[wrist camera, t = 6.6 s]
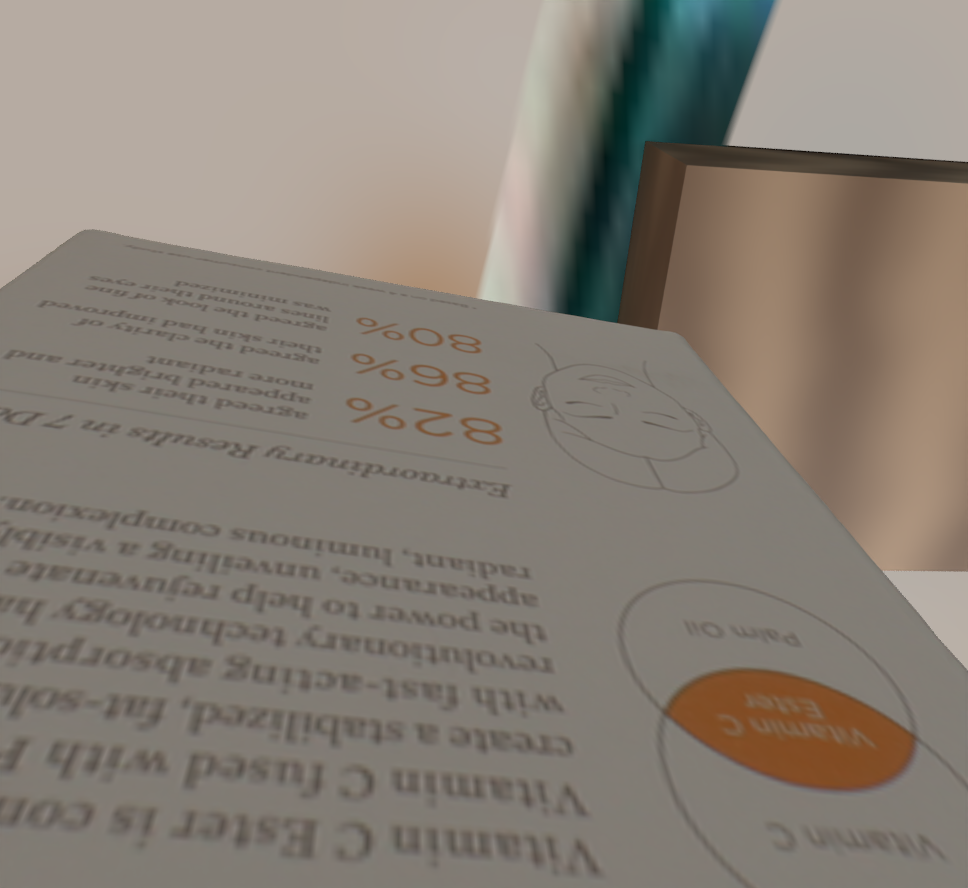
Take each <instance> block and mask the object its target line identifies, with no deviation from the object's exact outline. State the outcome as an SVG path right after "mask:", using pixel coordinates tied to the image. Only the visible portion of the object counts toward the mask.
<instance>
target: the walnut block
mask: <svg viewBox="0 0 968 888" xmlns="http://www.w3.org/2000/svg"><path fill="white" fill-rule="evenodd" d="M617 323H619V324H625V325H631V326H636V327H642V328H648V329H654V330H661V331H670V332H674V333H677V334H679V335H681V336H682V337H684V338H685V339H686V341H687V342H688V344H689V345H690V346H691V347H692V349H693V350H694V351H695V352H696V353H697V354H698V356H699V357H700V358H701V359H702V360H703V361H704V363H705V364H706V365H707V366H708V367H709V369H710V370H711V371H712V372H713V373H714V375H715V376H716V377H717V378H718V379H719V380H720V382H721V383H722V384H723V385H724V386H725V388H726V389H727V390H728V391H729V392H730V394H731V395H732V396H733V397H734V398H735V400H736V401H737V402H738V403H739V404H740V405H741V406H742V407H743V408H744V410H745V411H746V412H747V413H748V414H749V415H750V417H751V418H752V419H753V420H754V421H755V422H756V424H757V425H758V426H759V427H760V428H761V430H762V431H763V432H764V433H765V434H766V435H767V437H768V438H769V439H770V440H771V441H772V443H773V444H774V445H775V446H776V448H777V449H778V450H779V451H780V452H781V454H782V455H783V456H784V457H785V459H786V460H787V461H788V462H789V463H790V464H791V465H792V466H793V468H794V469H795V470H796V471H797V472H798V473H799V474H800V475H801V476H802V478H803V479H804V480H805V481H806V482H807V483H808V485H809V486H810V487H811V488H812V489H813V490H814V491H815V493H816V494H817V495H818V496H819V497H820V498H821V499H822V501H823V502H824V503H825V504H826V505H827V506H828V508H829V509H830V510H831V512H832V513H833V514H834V515H835V517H836V518H837V519H838V520H839V521H840V522H841V523H842V524H843V525H844V526H845V528H846V529H847V530H848V531H849V532H850V534H851V535H852V536H853V537H854V538H855V540H856V541H857V542H858V543H859V545H860V546H861V547H862V548H863V549H864V551H865V552H866V553H867V554H868V555H869V557H870V558H871V559H872V560H873V561H874V562H875V563H876V565H877V566H878V567H879V568H880V569H881V570H882V571H968V162H961V161H946V160H932V159H918V158H903V157H888V156H874V155H859V154H845V153H831V152H814V151H801V150H787V149H772V148H756V147H743V146H729V145H727V147H723V146H708V145H693V144H679V143H664V142H650V141H645V147H644V154H643V160H642V167H641V173H640V180H639V186H638V193H637V199H636V205H635V212H634V218H633V225H632V231H631V238H630V244H629V251H628V257H627V264H626V270H625V276H624V283H623V289H622V296H621V302H620V309H619V315H618V322H617Z"/></svg>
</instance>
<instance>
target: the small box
mask: <svg viewBox="0 0 968 888" xmlns="http://www.w3.org/2000/svg"><path fill="white" fill-rule="evenodd" d="M0 888H968V670H967V669H966V668H965V667H964V666H963V665H962V663H961V662H960V661H959V660H958V659H957V658H956V657H955V656H954V655H953V654H952V653H951V652H950V650H949V649H948V648H947V647H946V646H945V645H944V644H943V643H942V642H941V640H940V639H938V637H937V636H936V635H935V634H934V632H933V631H932V630H931V628H930V627H929V626H928V624H927V623H926V622H925V621H924V620H923V618H922V617H921V616H920V614H919V613H918V612H917V611H916V610H915V609H914V608H913V606H912V605H911V604H910V603H909V602H908V600H907V599H906V598H905V597H904V596H903V595H902V594H901V593H900V591H899V590H898V589H897V588H896V587H895V586H894V585H893V583H892V582H891V581H890V580H889V579H888V577H887V576H886V575H885V574H884V573H883V572H882V570H881V569H880V568H879V567H878V566H877V565H876V563H875V562H874V561H873V560H872V559H871V558H870V557H869V555H868V554H867V553H866V552H865V551H864V549H863V548H862V547H861V546H860V545H859V543H858V542H857V541H856V540H855V538H854V537H853V536H852V535H851V534H850V532H849V531H848V530H847V529H846V528H845V526H844V525H843V524H842V523H841V522H840V521H839V520H838V519H837V518H836V517H835V515H834V514H833V513H832V512H831V510H830V509H829V508H828V506H827V505H826V504H825V503H824V502H823V501H822V499H821V498H820V497H819V496H818V495H817V494H816V493H815V491H814V490H813V489H812V488H811V487H810V486H809V485H808V483H807V482H806V481H805V480H804V479H803V478H802V476H801V475H800V474H799V473H798V472H797V471H796V470H795V469H794V468H793V466H792V465H791V464H790V463H789V462H788V461H787V460H786V459H785V457H784V456H783V455H782V454H781V452H780V451H779V450H778V449H777V448H776V446H775V445H774V444H773V443H772V441H771V440H770V439H769V438H768V437H767V435H766V434H765V433H764V432H763V431H762V430H761V428H760V427H759V426H758V425H757V424H756V422H755V421H754V420H753V419H752V418H751V417H750V415H749V414H748V413H747V412H746V411H745V410H744V408H743V407H742V406H741V405H740V404H739V403H738V402H737V401H736V400H735V398H734V397H733V396H732V395H731V394H730V392H729V391H728V390H727V389H726V388H725V386H724V385H723V384H722V383H721V382H720V380H719V379H718V378H717V377H716V376H715V375H714V373H713V372H712V371H711V370H710V369H709V367H708V366H707V365H706V364H705V363H704V361H703V360H702V359H701V358H700V357H699V356H698V354H697V353H696V352H695V351H694V350H693V349H692V347H691V346H690V345H689V344H688V342H687V341H686V339H685V338H684V337H682V336H681V335H679V334H677V333H674V332H670V331H661V330H654V329H648V328H642V327H636V326H631V325H625V324H619V323H613V322H607V321H601V320H595V319H590V318H584V317H579V316H573V315H567V314H561V313H555V312H549V311H543V310H538V309H532V308H527V307H522V306H517V305H511V304H506V303H499V302H493V301H487V300H482V299H476V298H471V297H465V296H460V295H454V294H449V293H443V292H437V291H432V290H426V289H420V288H414V287H409V286H403V285H398V284H392V283H387V282H381V281H376V280H370V279H364V278H359V277H354V276H348V275H343V274H337V273H332V272H326V271H321V270H315V269H309V268H304V267H297V266H292V265H285V264H279V263H273V262H267V261H261V260H255V259H249V258H243V257H237V256H232V255H227V254H221V253H216V252H211V251H205V250H200V249H194V248H188V247H181V246H177V245H171V244H165V243H160V242H155V241H150V240H145V239H139V238H133V237H129V236H124V235H119V234H115V233H110V232H106V231H100V230H84V231H81V232H79V233H77V234H76V235H75V236H73V237H72V238H70V239H69V240H67V241H66V242H65V243H63V244H62V245H60V246H59V247H58V248H56V249H55V250H54V251H52V252H51V253H49V254H48V255H46V256H45V257H44V258H42V259H41V260H40V261H39V262H37V263H36V264H34V265H33V266H32V267H30V268H29V269H27V270H26V271H25V272H23V273H22V274H21V275H19V276H18V277H17V278H15V279H14V280H12V281H11V282H9V283H8V284H6V285H5V286H4V287H2V288H1V289H0Z"/></svg>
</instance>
